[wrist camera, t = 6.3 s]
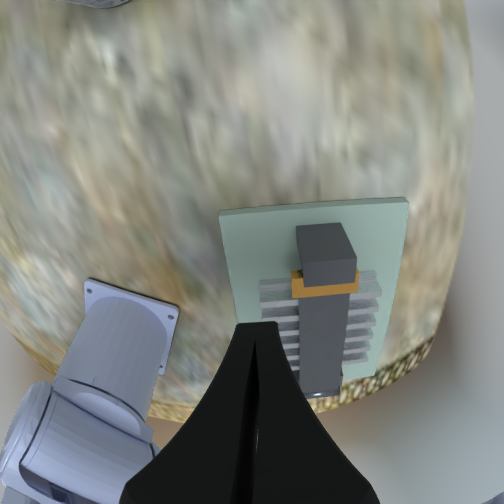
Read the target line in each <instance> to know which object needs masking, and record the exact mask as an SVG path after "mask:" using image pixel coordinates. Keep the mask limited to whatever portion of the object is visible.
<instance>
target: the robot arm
mask: <svg viewBox="0 0 504 504" xmlns="http://www.w3.org/2000/svg"><path fill="white" fill-rule="evenodd" d="M90 289H91V290H90ZM84 300H85V318H84V320H83V322H82V324H81V326H80V328H79V330H78V331H77V333H76V335H75V337H74V339H73V341H72V343H71V345H70V347H69V349H68V351H67V353H66V355H65V357H64V359H63V361H62V363H61V365H60V367H59V369H58V372H57V374H56V376H55V378H54V380H53V382H52V383H51V384H49V383H48V382H46V381H45V380H42V381H41V382H36V383H33V384H32V385H31V386H30V388H29V389H28V391H27V392H26V394H25V396H24V398H23V400H22V402H21V403H20V405H19V407H18V410H17V412H16V414H15V416H14V418H13V420H12V423H11V425H10V428H9V430H8V433H7V436H6V439H5V442H4V446H3V449H2V451H1V455H0V479H1V482H2V484H3V485H4V487H5V492H4V496H3V499H2V502H1V504H380V502H379V499H378V497H377V495H376V493H375V491H374V489H373V488H372V486H371V484H370V483H369V481H368V480H367V479H366V478H365V477H363V475H362V474H361V473H360V472H359V471H358V470H357V469H356V468H355V467H354V466H353V465H352V463H351V462H350V461H349V460H348V459H347V457H346V456H345V455H344V454H343V452H342V451H341V450H340V449H339V447H338V446H337V445H336V443H335V442H334V441H333V440H332V438H331V437H330V435H329V434H328V433H327V431H326V430H325V428H324V427H323V425H322V424H321V422H320V421H319V419H318V418H317V416H316V415H315V413H314V411H313V410H312V408H311V406H310V405H309V403H308V401H307V399H306V398H305V396H304V394H303V392H302V390H301V388H300V386H299V384H298V382H297V380H296V378H295V376H294V374H293V371H292V369H291V367H290V364H289V362H288V359H287V357H286V354H285V351H284V348H283V345H282V342H281V338H280V334H279V329H278V323H277V322H276V321H265V322H248V323H238V324H237V325H236V328H235V331H234V334H233V337H232V340H231V342H230V345H229V347H228V350H227V352H226V354H225V357H224V359H223V361H222V363H221V365H220V367H219V369H218V371H217V373H216V375H215V377H214V379H213V380H212V382H211V384H210V386H209V387H208V389H207V391H206V393H205V394H204V396H203V397H202V399H201V401H200V402H199V404H198V405H197V407H196V408H195V410H194V411H193V412H192V414H191V415H190V417H189V418H188V419H187V421H186V422H185V423H184V425H183V426H182V427H181V428H180V430H179V431H178V432H177V434H176V435H175V436H174V437H173V438H172V439H171V440H170V442H169V443H168V444H167V445H166V446H165V447H164V448H163V449H162V450H160V449H159V447H158V446H157V445H156V444H155V443H153V442H152V441H151V440H152V436H153V431H154V429H153V428H151V427H149V426H148V425H146V419H147V416H148V411H149V407H150V403H151V399H152V395H153V391H154V387H155V383H156V379H157V375H158V374H159V375H162V374H164V372H165V367H166V363H167V359H168V355H169V350H170V346H171V342H172V338H173V334H174V329H175V325H176V321H177V317H178V313H179V309H178V308H177V307H176V306H174V305H170V304H167V303H164V302H160V301H157V300H154V299H151V298H147V297H144V296H141V295H138V294H134V293H131V292H128V291H125V290H122V289H119V288H116V287H113V286H110V285H107V284H104V283H101V282H98V281H95V280H92V279H87V280H86V281H85V283H84ZM170 315H172V316H170ZM257 434H258V441H257ZM482 504H504V492H502V493H500V494H499V495H497V496H496V497H494V498H493V499H491V500H489V501H487V502H484V503H482Z"/></svg>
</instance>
